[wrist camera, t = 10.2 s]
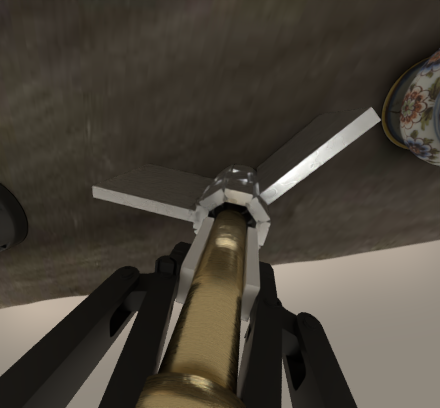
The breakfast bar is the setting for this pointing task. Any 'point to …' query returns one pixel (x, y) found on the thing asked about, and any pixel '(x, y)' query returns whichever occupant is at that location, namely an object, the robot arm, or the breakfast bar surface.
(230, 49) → the breakfast bar surface
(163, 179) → the hinge fixed leaf
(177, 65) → the breakfast bar surface
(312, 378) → the robot arm
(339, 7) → the breakfast bar surface
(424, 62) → the apothecary jar
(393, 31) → the breakfast bar surface
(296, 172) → the hinge swing leaf
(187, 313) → the brass pin
